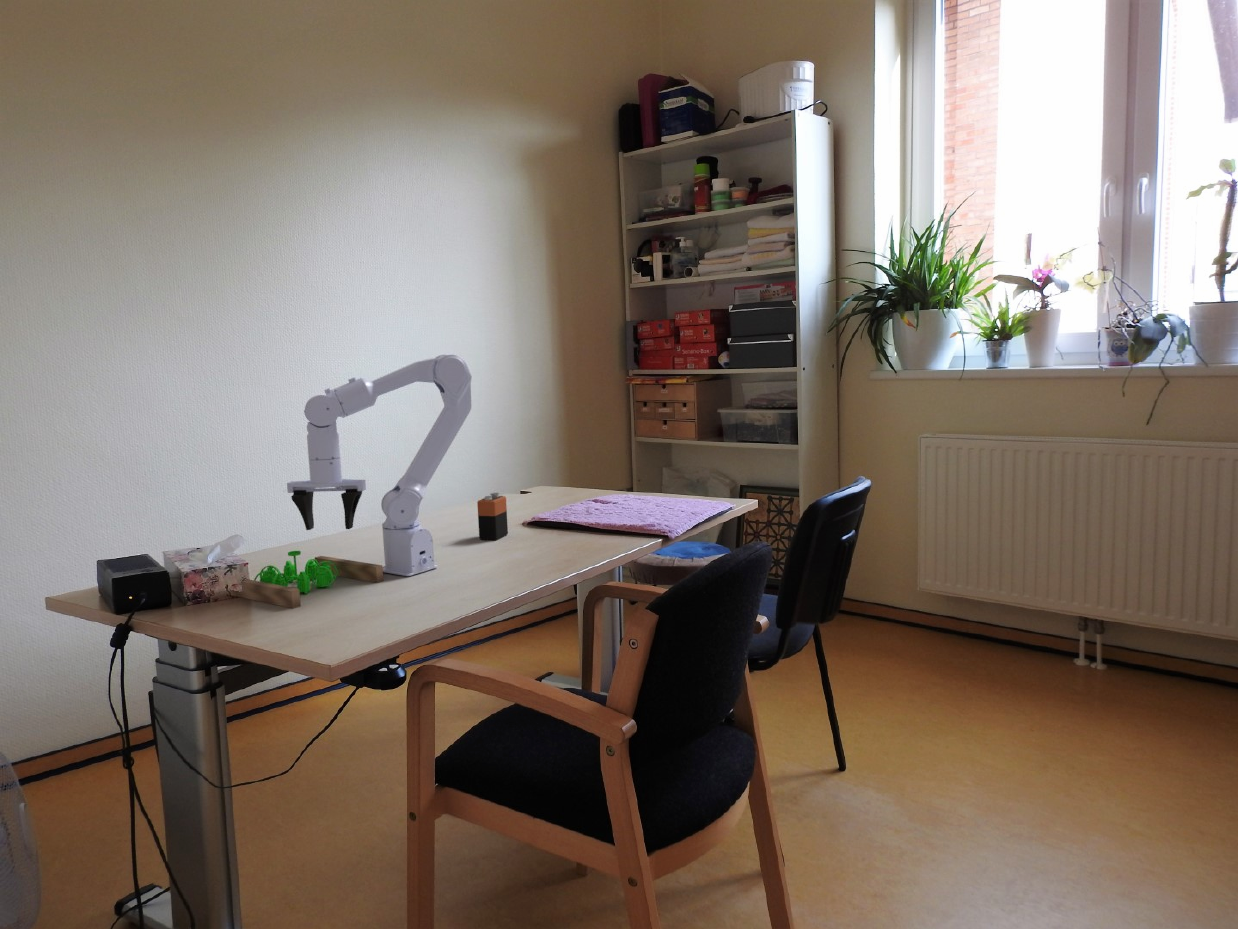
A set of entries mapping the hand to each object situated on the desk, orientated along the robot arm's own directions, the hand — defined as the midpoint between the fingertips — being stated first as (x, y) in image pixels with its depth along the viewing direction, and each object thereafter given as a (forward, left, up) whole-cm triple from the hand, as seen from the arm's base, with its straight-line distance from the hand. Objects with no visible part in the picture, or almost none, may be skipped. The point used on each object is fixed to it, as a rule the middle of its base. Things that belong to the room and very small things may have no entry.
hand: (329, 528), depth 173 cm
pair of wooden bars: (-2, +7, -10) cm, 12 cm away
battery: (-4, -42, -10) cm, 43 cm away
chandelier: (+1, +8, -10) cm, 13 cm away
